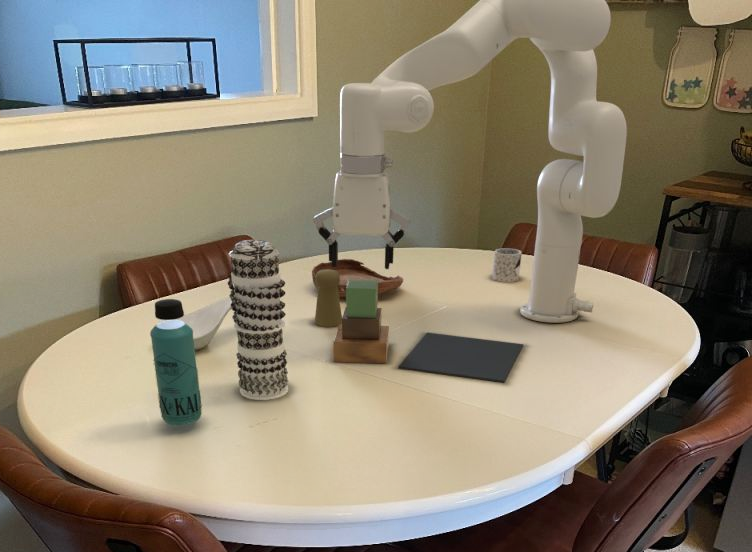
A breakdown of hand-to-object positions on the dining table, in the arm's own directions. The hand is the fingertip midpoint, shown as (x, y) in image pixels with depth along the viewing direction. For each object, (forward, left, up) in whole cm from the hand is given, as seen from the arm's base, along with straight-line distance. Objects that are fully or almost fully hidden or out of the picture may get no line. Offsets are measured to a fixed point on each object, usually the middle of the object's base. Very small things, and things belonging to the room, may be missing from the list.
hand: (361, 266), depth 141 cm
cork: (+13, -15, -17) cm, 26 cm away
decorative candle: (+10, +23, -17) cm, 30 cm away
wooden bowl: (+15, -39, -17) cm, 45 cm away
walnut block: (0, 0, -13) cm, 13 cm away
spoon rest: (+31, +3, -17) cm, 35 cm away
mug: (-16, -64, -17) cm, 68 cm away
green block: (0, 0, -9) cm, 9 cm away
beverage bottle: (+16, +40, -17) cm, 46 cm away
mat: (-19, -5, -17) cm, 26 cm away
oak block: (0, 0, -17) cm, 17 cm away
